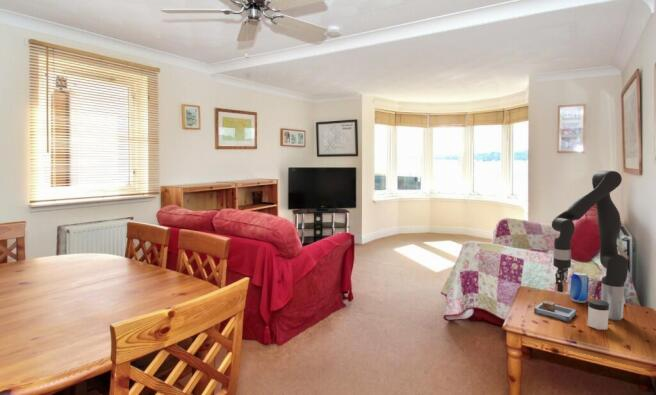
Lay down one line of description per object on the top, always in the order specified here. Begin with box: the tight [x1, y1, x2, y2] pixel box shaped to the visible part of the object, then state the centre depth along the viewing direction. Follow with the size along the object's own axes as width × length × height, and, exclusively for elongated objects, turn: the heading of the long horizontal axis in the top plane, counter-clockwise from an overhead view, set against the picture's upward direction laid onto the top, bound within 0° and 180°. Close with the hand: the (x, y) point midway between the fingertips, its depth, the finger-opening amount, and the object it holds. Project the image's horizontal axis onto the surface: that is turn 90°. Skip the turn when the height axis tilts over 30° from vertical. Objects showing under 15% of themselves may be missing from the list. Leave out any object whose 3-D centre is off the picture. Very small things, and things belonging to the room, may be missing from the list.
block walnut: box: [542, 300, 556, 312], centre depth 200 cm, size 4×4×4 cm
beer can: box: [569, 271, 590, 304], centre depth 215 cm, size 8×8×16 cm
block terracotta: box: [554, 281, 569, 294], centre depth 191 cm, size 4×4×4 cm
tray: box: [533, 301, 577, 323], centre depth 198 cm, size 16×13×2 cm
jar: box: [586, 298, 609, 331], centre depth 183 cm, size 9×8×12 cm
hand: (561, 290), depth 192 cm, fingers closed on block terracotta, 4 cm apart
